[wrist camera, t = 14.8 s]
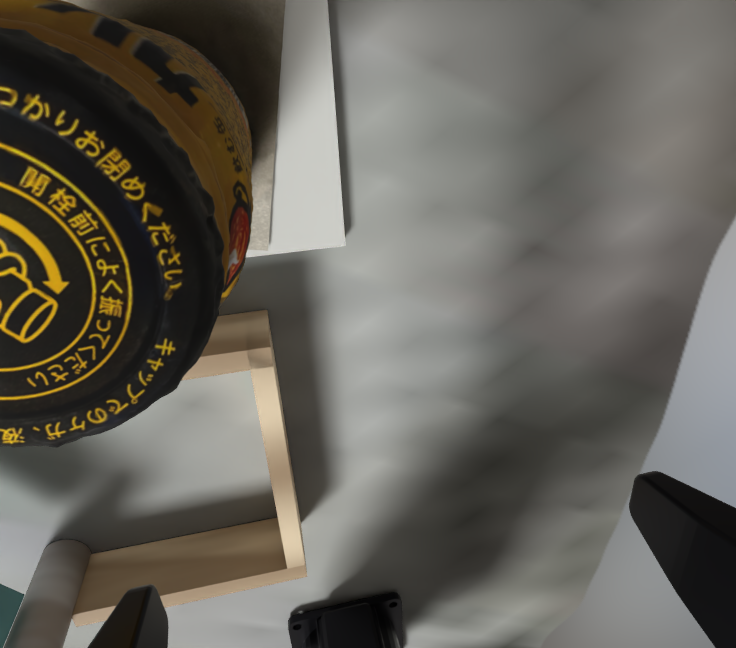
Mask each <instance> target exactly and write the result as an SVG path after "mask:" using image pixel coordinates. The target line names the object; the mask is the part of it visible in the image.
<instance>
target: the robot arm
mask: <svg viewBox="0 0 736 648" xmlns="http://www.w3.org/2000/svg"><path fill="white" fill-rule="evenodd" d="M629 509H630V513H631V516H632V518H633V520H634V522H635V523H636V525H637V527H638V528H639V530H640V532H641V534H642V535H643V537H644V539H645V540H646V542H647V544H648V545H649V547H650V549H651V551H652V552H653V554H654V556H655V558H656V559H657V561H658V562H659V564H660V566H661V568H662V569H663V571H664V573H665V574H666V576H667V578H668V580H669V581H670V583H671V584H672V586H673V588H674V589H675V591H676V592H677V594H678V595H679V597H680V598H681V600H682V601H683V603H684V604H685V605H686V607H687V608H688V610H689V611H690V613H691V614H692V615H693V617H694V618H695V620H696V621H697V622H698V624H699V625H700V626H701V628H702V629H703V631H704V632H705V633H706V635H707V636H708V638H709V639H710V641H711V642H712V643H713V645H714V646H715V648H736V508H735V507H732V506H730V505H728V504H726V503H723V502H722V501H720V500H718V499H716V498H714V497H712V496H709V495H707V494H705V493H703V492H701V491H699V490H697V489H695V488H693V487H691V486H689V485H686V484H684V483H682V482H680V481H678V480H676V479H674V478H672V477H670V476H668V475H666V474H663V473H661V472H658V471H652V472H648V473H643V474H639V475H637V477H636V478H635V480H634V484H633V489H632V494H631V498H630V503H629ZM288 630H289V635H290V639H291V644H292V648H403V631H402V602H401V599H400V595H399V594H398V593H389V594H385V595H380V596H376V597H372V598H367V599H363V600H358V601H354V602H350V603H345V604H341V605H337V606H332V607H328V608H323V609H319V610H315V611H310V612H306V613H302V614H297V615H294V616H292V617H290V618H289V620H288ZM167 647H168V618H167V614H166V611H165V608H164V606H163V603H162V601H161V598H160V595H159V593H158V590H157V588H156V587H155V586H154V585H153V584H148V585H143V586H139V587H134V588H131V589H129V590H128V591H127V592H126V593H125V594H124V595H123V597H122V598H121V600H120V601H119V603H118V604H117V605H116V607H115V608H114V610H113V611H112V613H111V614H110V616H109V617H108V619H107V620H106V621H105V623H104V624H103V626H102V627H101V629H100V630H99V632H98V633H97V635H96V636H95V638H94V639H93V640H92V642H91V643H90V645H89V646H88V648H167Z"/></svg>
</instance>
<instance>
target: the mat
mask: <svg viewBox="0 0 736 648" xmlns="http://www.w3.org/2000/svg"><path fill="white" fill-rule="evenodd" d="M340 246H345V233H344V219H343V205H342V192H341V178H340V164H339V151H338V137H337V123H336V109H335V96H334V82H333V68H332V55H331V41H330V27H329V13H328V0H286V2H285V14H284V29H283V46H282V56H281V72H280V86H279V102H278V114H277V128H276V141H275V156H274V170H273V185H272V199H271V214H270V229H269V244H268V251H265V250H250V249H248V250H247V253H246V257H254V256H263V255H271V254H280V253H289V252H297V251H306V250H314V249H323V248H332V247H340Z"/></svg>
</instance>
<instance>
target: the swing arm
mask: <svg viewBox="0 0 736 648" xmlns="http://www.w3.org/2000/svg"><path fill="white" fill-rule="evenodd" d="M23 598H24V594H22V593H19V592H17V591H15V590H13V589H11V588H8V587H6V586H4V585H2V584H0V648H3V646H4V644H5V641H6V639H7V636H8V634H9V631H10V629H11V627H12V624H13V622H14V619H15V617H16V614H17V612H18V610H19V607H20V605H21V602H22V600H23Z"/></svg>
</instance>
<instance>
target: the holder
mask: <svg viewBox="0 0 736 648" xmlns="http://www.w3.org/2000/svg"><path fill="white" fill-rule="evenodd" d="M247 370H250V371H251V376H252V382H253V387H254V393H255V398H256V403H257V409H258V414H259V419H260V425H261V430H262V436H263V441H264V446H265V452H266V457H267V462H268V468H269V473H270V478H271V484H272V489H273V495H274V500H275V505H276V511H277V516H278V517H277V518H272V519H267V520H262V521H257V522H252V523H247V524H242V525H237V526H232V527H227V528H222V529H217V530H212V531H207V532H201V533H196V534H191V535H186V536H181V537H176V538H171V539H166V540H161V541H156V542H151V543H146V544H141V545H136V546H131V547H126V548H121V549H115V550H110V551H105V552H100V553H95V554H91V552H90V549H89V548H88V547H87V546H86V545H85V544H83V543H81V542H79V541H75V540H59V541H55V542H53V543H51V544H49V545H48V546H47V547H46V548H45V549H44V551H43V553H42V556H41V558H40V561H39V563H38V565H37V568H36V570H35V573H34V575H33V578H32V580H31V582H30V585H29V587H28V590H27V592H26V595H25V597H24V599H23V602H22V604H21V607H20V609H19V612H18V614H17V617H16V619H15V621H14V624H13V626H12V629H11V631H10V634H9V636H8V638H7V641H6V643H5V646H4V648H63V645H64V641H65V638H66V635H67V632H68V628H69V625H70V622H71V619H73V621H74V623H75V625H76V627H78V626H83V625H87V624H92V623H97V622H101V621H106V620H107V619H108V617H109V616H110V614H111V613H112V611H113V610H114V608H115V607H116V605H117V604H118V603H119V601H120V600H121V598H122V597H123V595H124V594H125V593H126V592H127V591H128V590H129V589H131V588H134V587H139V586H143V585H148V584H153V585H154V586H155V587H156V588H157V590H158V593H159V595H160V598H161V601H162V603H163V606H164V608H165V607H170V606H175V605H179V604H184V603H188V602H193V601H198V600H202V599H207V598H211V597H216V596H221V595H225V594H230V593H234V592H239V591H243V590H248V589H253V588H257V587H262V586H266V585H271V584H276V583H280V582H285V581H289V580H294V579H299V578H303V577H307V571H306V563H305V554H304V545H303V537H302V528H301V521H300V515H299V508H298V502H297V496H296V489H295V483H294V476H293V470H292V464H291V457H290V451H289V445H288V438H287V432H286V426H285V419H284V413H283V407H282V400H281V394H280V388H279V381H278V375H277V368H276V362H275V356H274V349H273V343H272V337H271V330H270V324H269V318H268V311H267V310H261V311H253V312H246V313H238V314H231V315H223V316H218V317H217V320H216V322H215V325H214V327H213V330H212V333H211V336H210V339H209V341H208V343H207V345H206V346H205V348H204V350H203V352H202V354H201V356H200V358H199V359H198V361H197V363H196V364H195V365H194V366H193V367H192V368H191V369H190V370H189V371H188V372H187V373H186V374H185V375H184V377H183V378H182V380H188V379H194V378H201V377H208V376H214V375H221V374H228V373H234V372H241V371H247Z"/></svg>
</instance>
